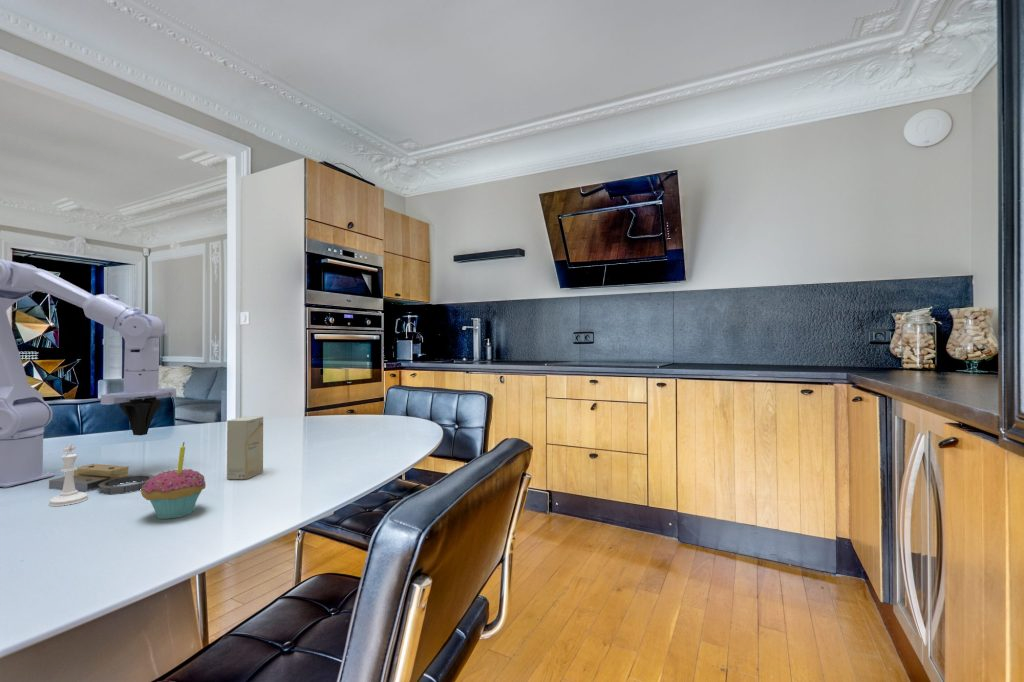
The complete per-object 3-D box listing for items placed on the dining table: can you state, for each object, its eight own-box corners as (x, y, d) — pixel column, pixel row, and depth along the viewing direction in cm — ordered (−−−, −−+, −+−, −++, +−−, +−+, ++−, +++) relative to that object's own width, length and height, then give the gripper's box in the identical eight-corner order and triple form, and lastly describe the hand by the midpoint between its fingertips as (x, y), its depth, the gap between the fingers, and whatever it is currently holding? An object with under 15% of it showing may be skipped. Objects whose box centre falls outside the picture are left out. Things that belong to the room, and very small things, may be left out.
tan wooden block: (73, 480, 90) (73, 467, 90) (92, 475, 94) (93, 463, 94) (110, 483, 89) (110, 470, 89) (128, 478, 92) (128, 465, 92)
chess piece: (95, 497, 82) (96, 441, 82) (66, 507, 77) (67, 448, 77) (71, 496, 82) (71, 441, 82) (40, 505, 77) (41, 447, 77)
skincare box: (246, 480, 93) (247, 420, 93) (225, 479, 93) (226, 420, 93) (263, 471, 99) (264, 415, 99) (243, 471, 99) (244, 415, 99)
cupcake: (217, 508, 77) (218, 437, 77) (165, 527, 69) (166, 448, 69) (181, 502, 80) (182, 433, 80) (127, 519, 72) (128, 443, 72)
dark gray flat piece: (46, 488, 86) (46, 480, 86) (93, 476, 94) (94, 468, 94) (123, 495, 83) (123, 486, 83) (165, 482, 91) (165, 474, 91)
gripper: (122, 373, 88) (120, 442, 88) (188, 369, 103) (186, 429, 102) (92, 372, 90) (90, 440, 90) (161, 368, 104) (160, 427, 104)
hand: (140, 434), depth 96 cm, fingers closed
